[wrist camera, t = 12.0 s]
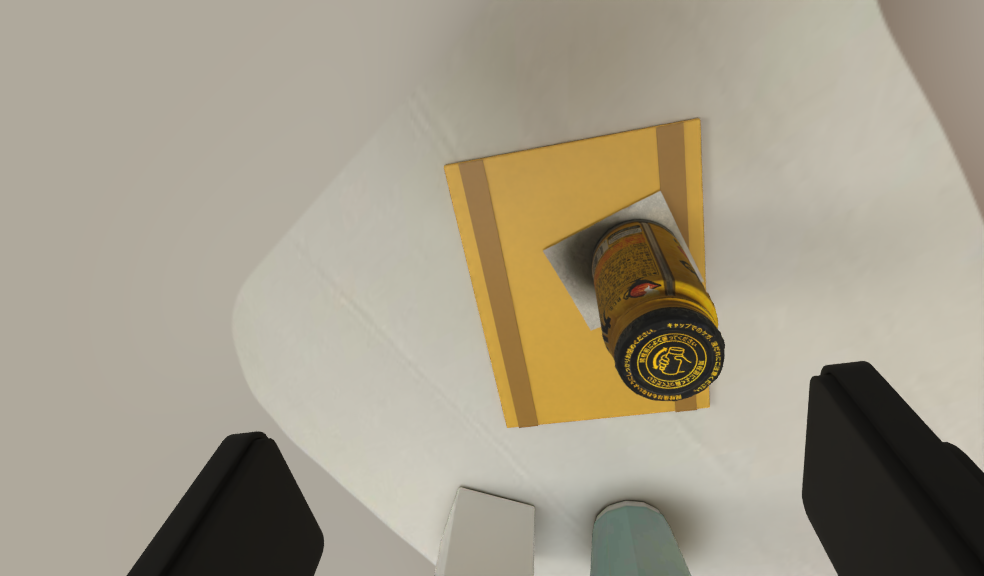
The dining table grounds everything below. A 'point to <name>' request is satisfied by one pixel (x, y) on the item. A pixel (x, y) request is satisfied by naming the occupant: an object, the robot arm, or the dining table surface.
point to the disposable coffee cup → (634, 543)
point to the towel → (533, 281)
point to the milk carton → (487, 537)
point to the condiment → (644, 300)
